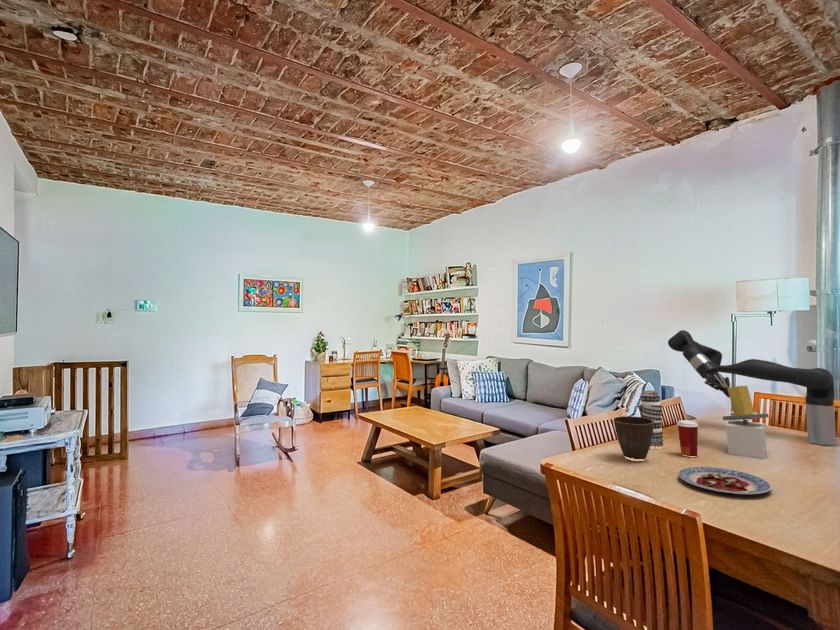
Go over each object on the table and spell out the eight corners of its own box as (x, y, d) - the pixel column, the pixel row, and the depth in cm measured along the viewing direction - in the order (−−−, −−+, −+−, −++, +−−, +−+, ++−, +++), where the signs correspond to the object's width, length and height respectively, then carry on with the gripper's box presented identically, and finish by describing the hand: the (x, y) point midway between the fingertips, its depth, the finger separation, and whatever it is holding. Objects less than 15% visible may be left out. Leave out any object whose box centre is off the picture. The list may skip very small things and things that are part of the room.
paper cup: (698, 454, 180) (696, 420, 181) (701, 459, 173) (699, 424, 174) (677, 452, 184) (675, 419, 184) (679, 457, 177) (677, 423, 177)
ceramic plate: (778, 506, 128) (778, 496, 128) (677, 491, 141) (677, 482, 141) (765, 479, 150) (765, 471, 150) (679, 469, 163) (678, 461, 163)
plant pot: (663, 464, 168) (661, 423, 169) (625, 465, 168) (623, 424, 169) (644, 453, 183) (642, 416, 184) (609, 454, 183) (607, 416, 184)
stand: (731, 447, 189) (729, 416, 189) (766, 451, 181) (764, 419, 181) (727, 453, 180) (726, 421, 180) (764, 458, 172) (762, 424, 172)
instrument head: (723, 420, 185) (715, 388, 188) (740, 418, 188) (732, 387, 191) (751, 419, 174) (742, 385, 177) (768, 417, 177) (759, 384, 180)
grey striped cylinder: (665, 445, 194) (662, 390, 195) (663, 450, 187) (661, 392, 188) (642, 443, 199) (639, 389, 200) (640, 448, 192) (637, 391, 193)
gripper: (709, 370, 203) (736, 400, 191) (687, 372, 199) (714, 402, 187) (719, 359, 198) (748, 389, 186) (697, 361, 194) (725, 391, 182)
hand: (731, 396), depth 186 cm, fingers closed
